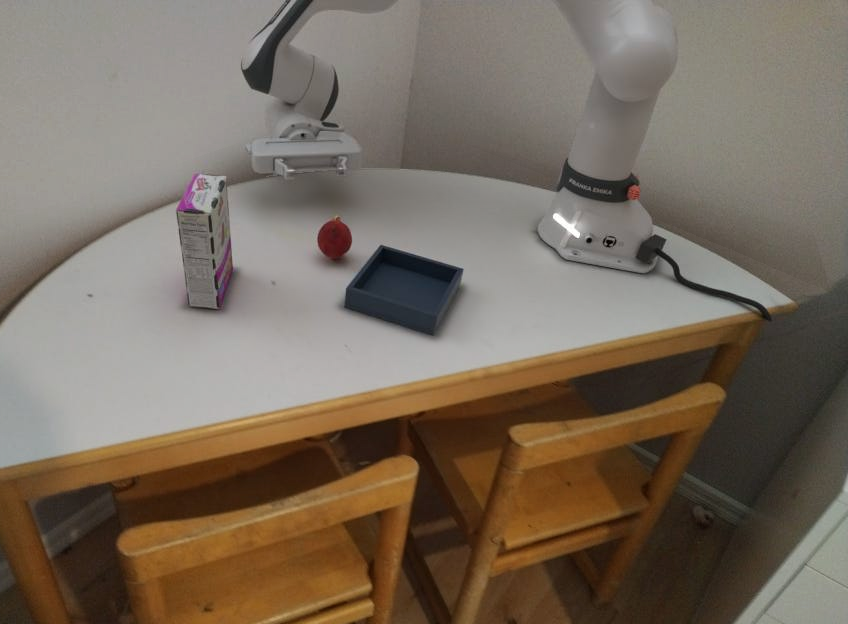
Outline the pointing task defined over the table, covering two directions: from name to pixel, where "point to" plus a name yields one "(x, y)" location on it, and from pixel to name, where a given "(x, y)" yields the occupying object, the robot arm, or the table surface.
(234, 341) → the table surface
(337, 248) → the onion
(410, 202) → the table surface
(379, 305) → the tray
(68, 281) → the table surface
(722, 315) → the table surface
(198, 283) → the candy bar box
